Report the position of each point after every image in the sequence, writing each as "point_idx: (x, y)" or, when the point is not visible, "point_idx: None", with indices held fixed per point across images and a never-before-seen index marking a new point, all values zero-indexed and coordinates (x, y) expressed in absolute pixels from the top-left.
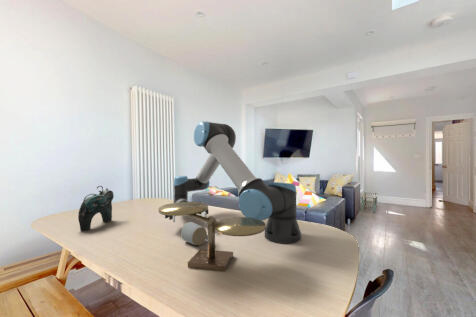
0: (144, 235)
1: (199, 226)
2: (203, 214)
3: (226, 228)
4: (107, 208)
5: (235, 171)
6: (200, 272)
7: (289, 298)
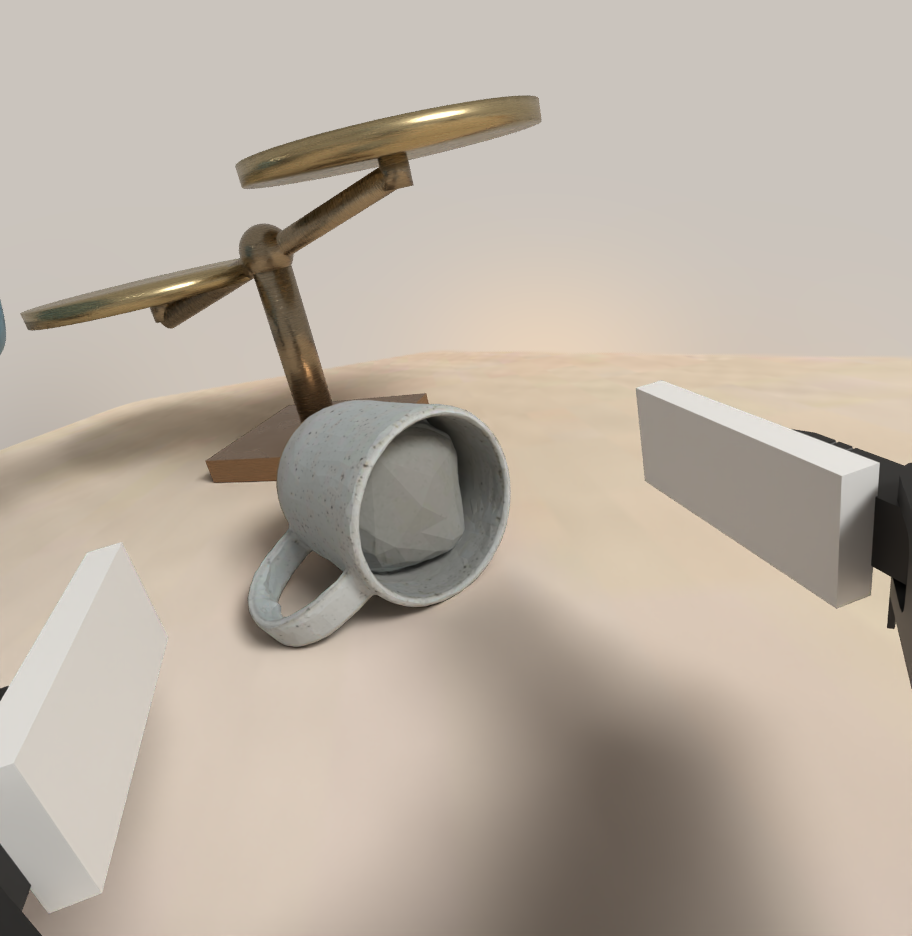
0: None
1: (323, 410)
2: (124, 639)
3: (234, 261)
4: None
5: None
6: None
7: (191, 402)
